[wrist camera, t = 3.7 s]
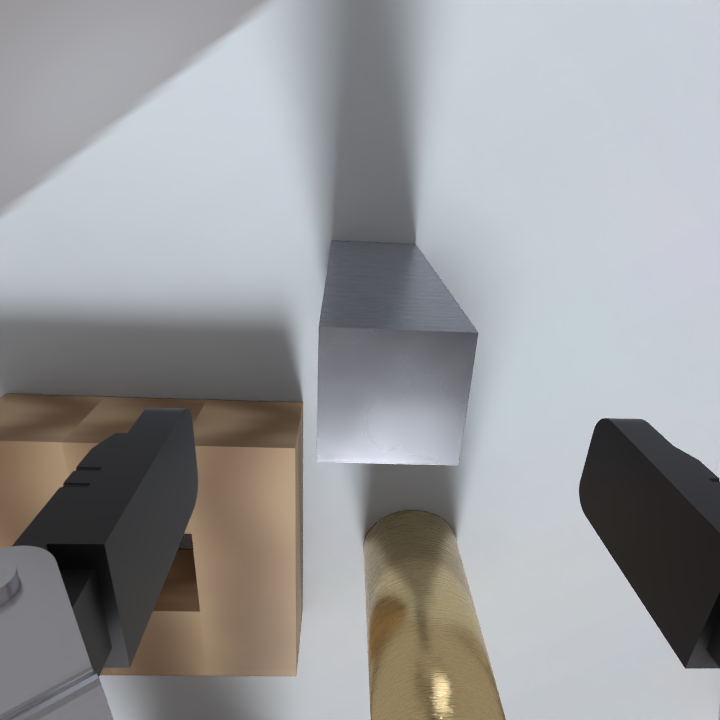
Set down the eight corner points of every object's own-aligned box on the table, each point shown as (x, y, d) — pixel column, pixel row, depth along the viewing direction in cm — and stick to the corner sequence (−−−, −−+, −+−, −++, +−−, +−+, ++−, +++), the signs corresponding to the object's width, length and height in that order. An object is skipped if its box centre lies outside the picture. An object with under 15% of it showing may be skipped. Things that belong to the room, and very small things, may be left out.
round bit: (461, 511, 27) (529, 728, 17) (450, 582, 29) (505, 813, 19) (366, 509, 27) (377, 727, 17) (361, 581, 29) (369, 814, 19)
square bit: (415, 244, 21) (478, 332, 11) (408, 324, 23) (458, 465, 13) (331, 240, 21) (318, 326, 11) (329, 320, 23) (316, 462, 13)
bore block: (303, 402, 24) (295, 448, 21) (302, 610, 30) (296, 676, 26) (6, 393, 24) (-57, 439, 20) (61, 607, 29) (20, 674, 26)
